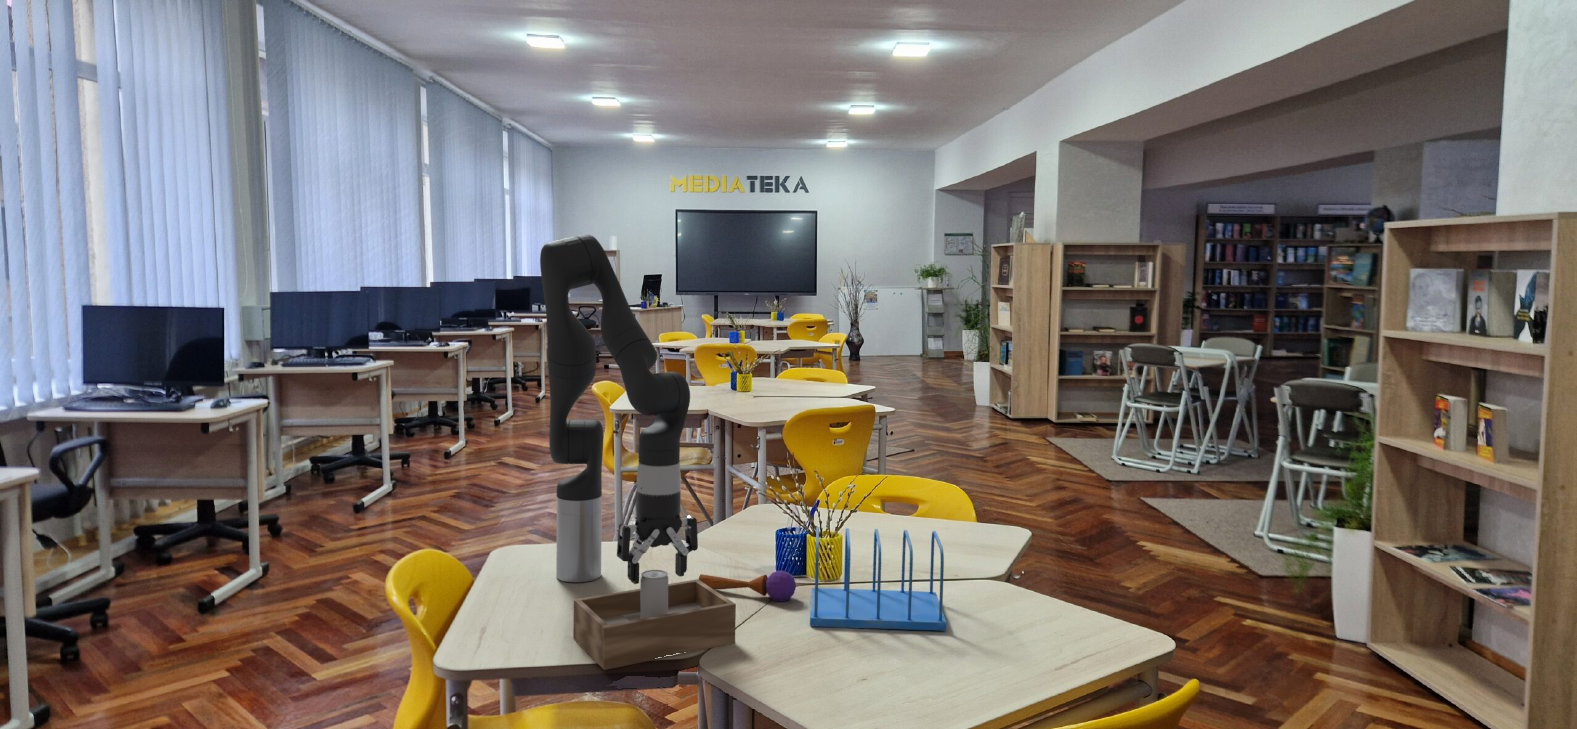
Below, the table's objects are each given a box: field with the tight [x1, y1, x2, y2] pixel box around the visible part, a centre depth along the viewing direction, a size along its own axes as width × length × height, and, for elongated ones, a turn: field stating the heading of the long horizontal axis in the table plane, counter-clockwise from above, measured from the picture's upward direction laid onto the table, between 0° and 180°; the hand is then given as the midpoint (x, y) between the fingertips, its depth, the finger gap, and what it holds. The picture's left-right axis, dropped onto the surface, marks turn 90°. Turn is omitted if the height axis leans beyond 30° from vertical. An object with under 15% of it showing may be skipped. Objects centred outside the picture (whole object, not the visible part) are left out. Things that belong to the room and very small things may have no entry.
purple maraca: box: [697, 570, 797, 602], centre depth 188 cm, size 6×6×20 cm
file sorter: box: [809, 526, 947, 632], centre depth 179 cm, size 25×17×15 cm
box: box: [572, 578, 737, 671], centre depth 163 cm, size 15×24×7 cm, turn 122°
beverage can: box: [639, 569, 669, 619], centre depth 163 cm, size 5×5×12 cm
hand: (657, 578), depth 163 cm, fingers open, 8 cm apart
